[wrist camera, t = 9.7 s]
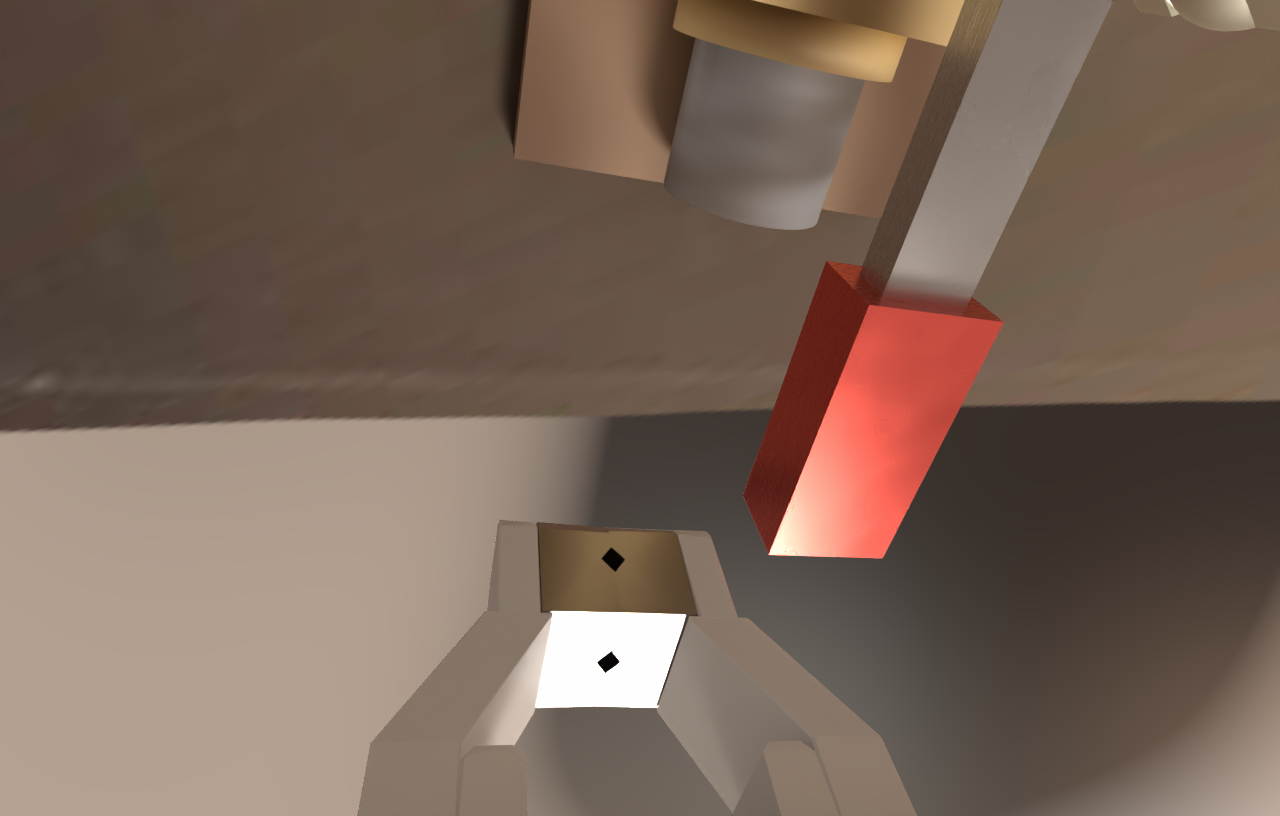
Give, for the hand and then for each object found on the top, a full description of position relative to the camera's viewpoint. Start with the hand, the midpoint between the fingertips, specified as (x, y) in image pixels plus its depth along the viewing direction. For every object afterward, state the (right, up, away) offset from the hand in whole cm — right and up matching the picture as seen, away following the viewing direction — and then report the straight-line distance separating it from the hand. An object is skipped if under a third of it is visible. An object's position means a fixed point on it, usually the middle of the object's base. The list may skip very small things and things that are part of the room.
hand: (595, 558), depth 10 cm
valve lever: (+6, +6, +3) cm, 9 cm away
